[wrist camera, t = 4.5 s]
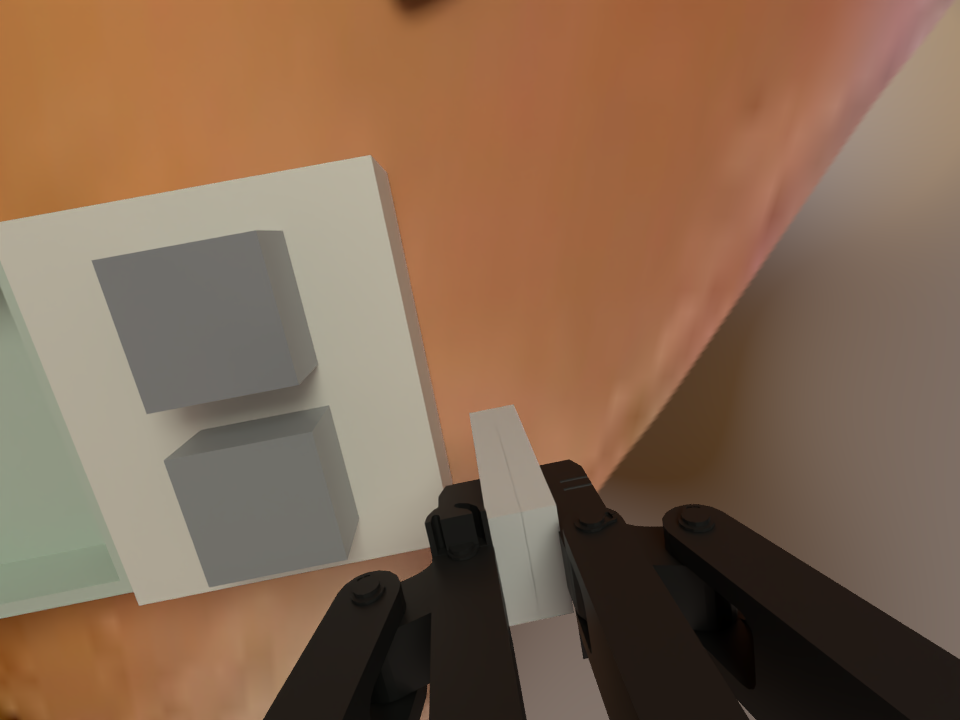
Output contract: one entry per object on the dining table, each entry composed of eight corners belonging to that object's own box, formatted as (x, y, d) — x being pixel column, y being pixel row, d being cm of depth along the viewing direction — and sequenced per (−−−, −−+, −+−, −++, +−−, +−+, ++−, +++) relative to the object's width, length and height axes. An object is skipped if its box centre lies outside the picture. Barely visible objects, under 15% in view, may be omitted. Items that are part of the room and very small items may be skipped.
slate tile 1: (238, 542, 19) (208, 587, 17) (200, 429, 18) (163, 460, 16) (359, 518, 19) (347, 559, 17) (329, 405, 18) (312, 431, 16)
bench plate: (199, 531, 24) (139, 605, 20) (91, 226, 21) (-15, 224, 16) (452, 481, 25) (454, 542, 20) (386, 172, 21) (370, 154, 16)
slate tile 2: (187, 389, 18) (146, 413, 15) (142, 256, 17) (91, 260, 14) (318, 364, 18) (298, 385, 15) (282, 230, 17) (255, 230, 14)
